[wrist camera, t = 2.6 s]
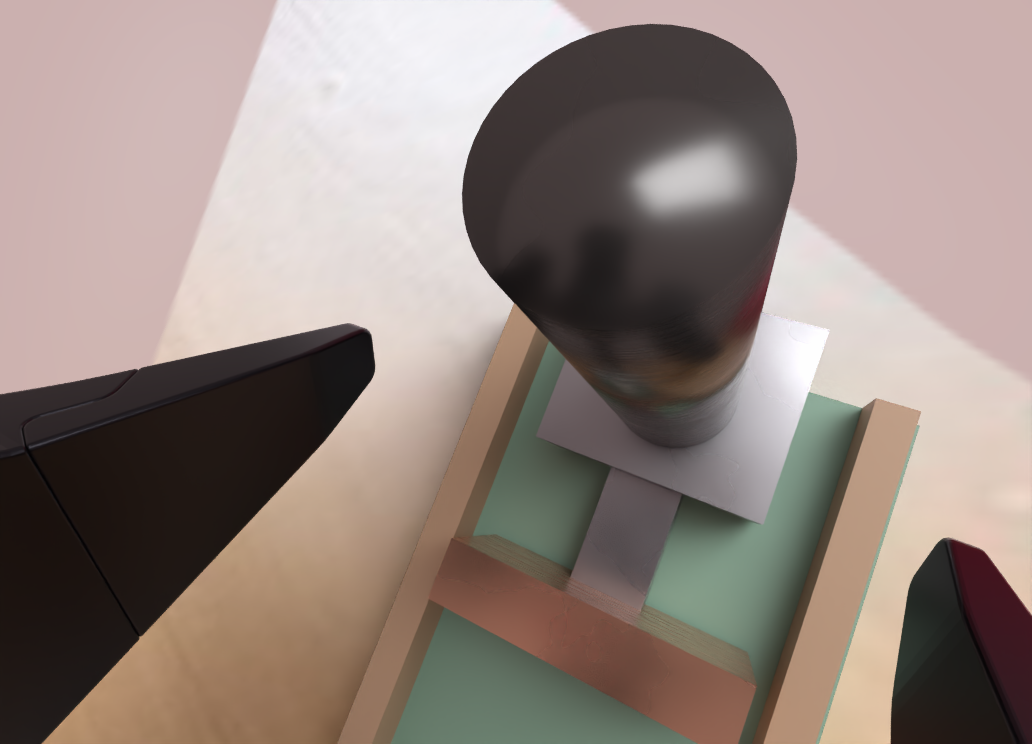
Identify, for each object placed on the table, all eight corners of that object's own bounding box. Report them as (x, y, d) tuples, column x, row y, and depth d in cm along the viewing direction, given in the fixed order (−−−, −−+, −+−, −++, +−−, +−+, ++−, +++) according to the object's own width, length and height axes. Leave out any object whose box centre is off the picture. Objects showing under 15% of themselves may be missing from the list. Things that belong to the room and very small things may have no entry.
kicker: (727, 712, 16) (783, 1347, 4) (476, 584, 18) (42, 709, 6) (844, 363, 17) (1186, -28, 5) (590, 291, 19) (398, -69, 7)
